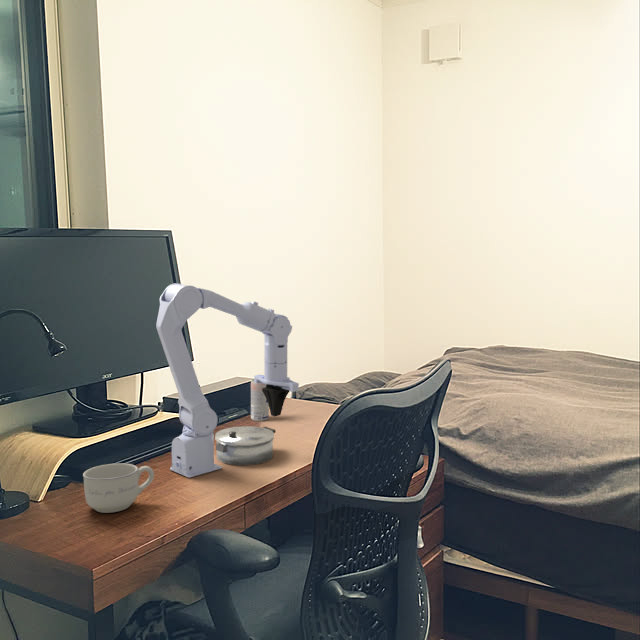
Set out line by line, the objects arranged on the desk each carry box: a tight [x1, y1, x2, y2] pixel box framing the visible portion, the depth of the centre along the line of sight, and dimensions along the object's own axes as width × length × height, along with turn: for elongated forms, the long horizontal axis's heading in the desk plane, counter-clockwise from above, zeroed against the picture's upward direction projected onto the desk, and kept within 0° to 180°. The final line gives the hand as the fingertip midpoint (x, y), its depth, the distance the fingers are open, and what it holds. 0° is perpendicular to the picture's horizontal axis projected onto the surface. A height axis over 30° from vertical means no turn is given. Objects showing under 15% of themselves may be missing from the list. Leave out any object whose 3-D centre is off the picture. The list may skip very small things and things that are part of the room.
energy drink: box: [250, 378, 270, 422], centre depth 210 cm, size 5×5×12 cm
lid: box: [214, 425, 276, 447], centre depth 175 cm, size 16×15×2 cm
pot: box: [215, 439, 274, 466], centre depth 175 cm, size 15×14×4 cm
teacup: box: [82, 462, 155, 514], centre depth 142 cm, size 14×11×8 cm
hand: (275, 415), depth 175 cm, fingers closed
